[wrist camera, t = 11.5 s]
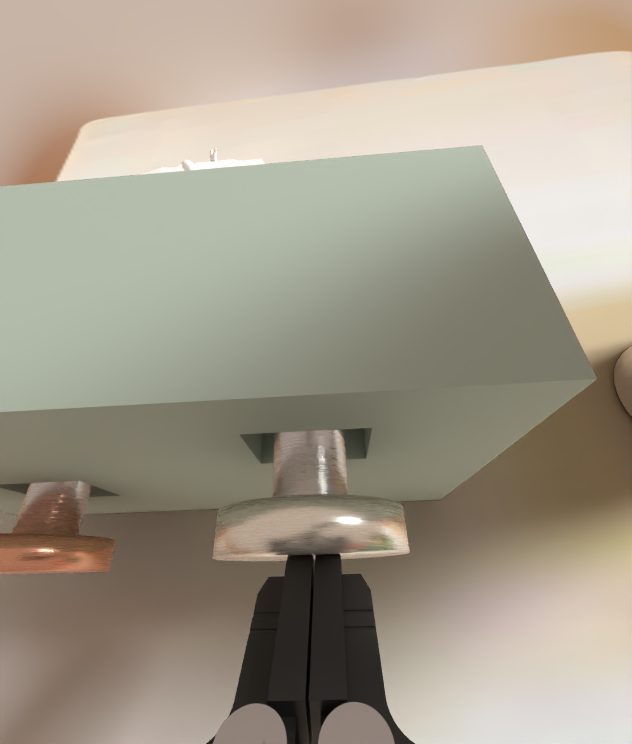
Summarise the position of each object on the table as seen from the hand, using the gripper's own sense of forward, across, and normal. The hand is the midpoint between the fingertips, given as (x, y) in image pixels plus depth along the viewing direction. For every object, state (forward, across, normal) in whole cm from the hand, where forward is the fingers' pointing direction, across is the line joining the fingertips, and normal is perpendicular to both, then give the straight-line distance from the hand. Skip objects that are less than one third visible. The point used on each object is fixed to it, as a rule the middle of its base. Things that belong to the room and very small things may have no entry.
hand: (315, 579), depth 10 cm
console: (+14, +6, +1) cm, 15 cm away
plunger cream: (+7, 0, -3) cm, 8 cm away
